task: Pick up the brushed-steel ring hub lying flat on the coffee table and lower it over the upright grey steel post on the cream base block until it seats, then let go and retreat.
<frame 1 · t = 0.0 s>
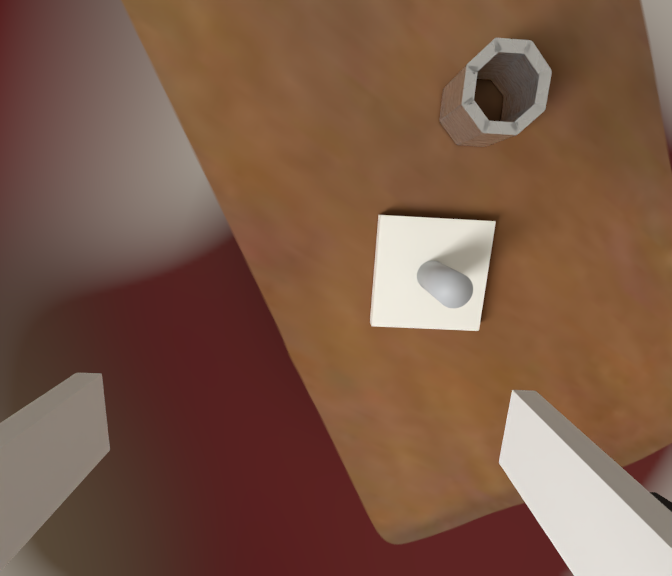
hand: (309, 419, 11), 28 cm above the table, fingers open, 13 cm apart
hub: (476, 107, 35), on the table
post: (427, 272, 39), on the table
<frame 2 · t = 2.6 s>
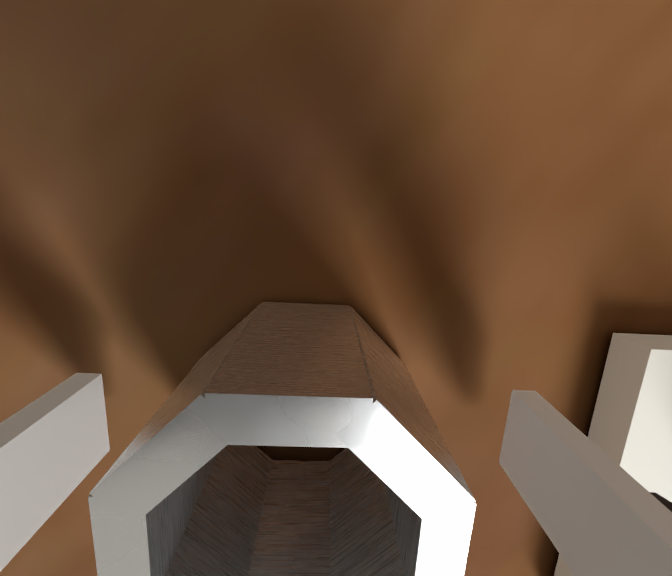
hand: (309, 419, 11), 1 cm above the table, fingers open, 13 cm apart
hub: (303, 398, 13), on the table
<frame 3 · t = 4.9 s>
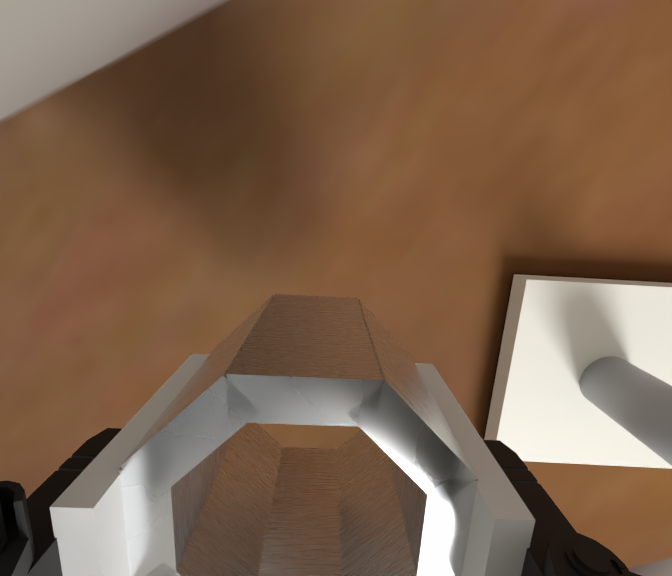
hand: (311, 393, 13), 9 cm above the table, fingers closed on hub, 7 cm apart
hub: (312, 388, 13), point 9 cm above the table, touching gripper
post: (589, 369, 23), on the table
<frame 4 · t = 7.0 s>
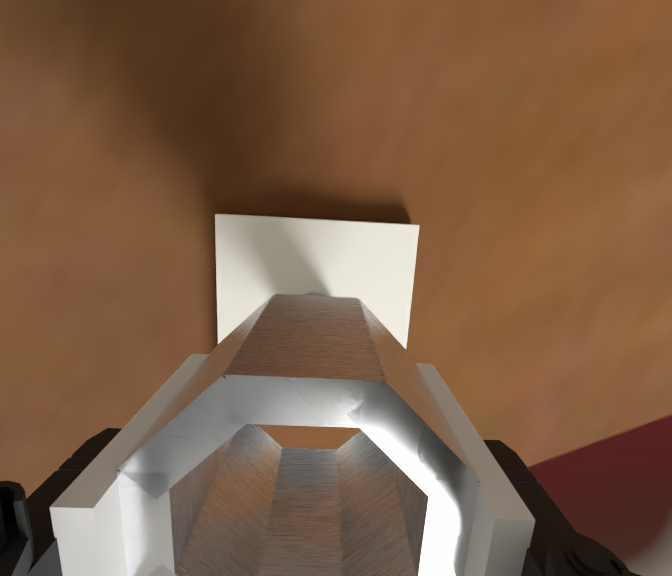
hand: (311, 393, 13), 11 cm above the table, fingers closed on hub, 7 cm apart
hub: (312, 388, 13), point 10 cm above the table, touching gripper
post: (314, 310, 23), on the table
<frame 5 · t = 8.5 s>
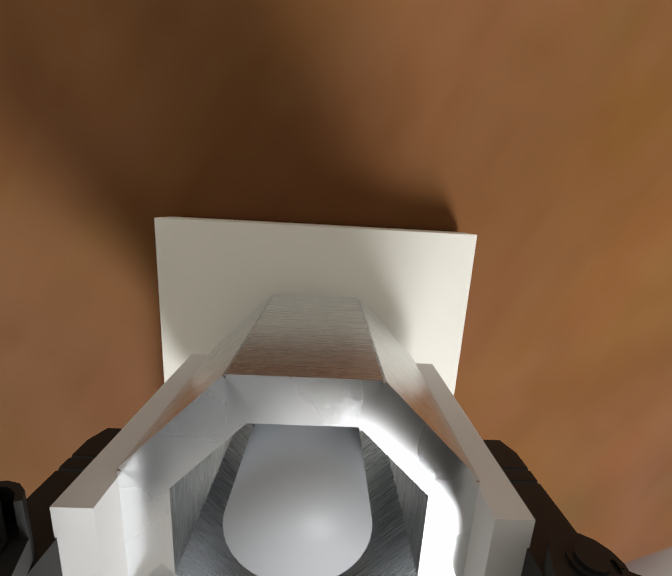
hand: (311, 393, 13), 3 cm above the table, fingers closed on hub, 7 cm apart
hub: (312, 388, 13), point 3 cm above the table, touching gripper
post: (313, 358, 16), on the table
when the fingers open (2 cm above the table, at t = 9.5 s): hub stays where it is, resting on post.
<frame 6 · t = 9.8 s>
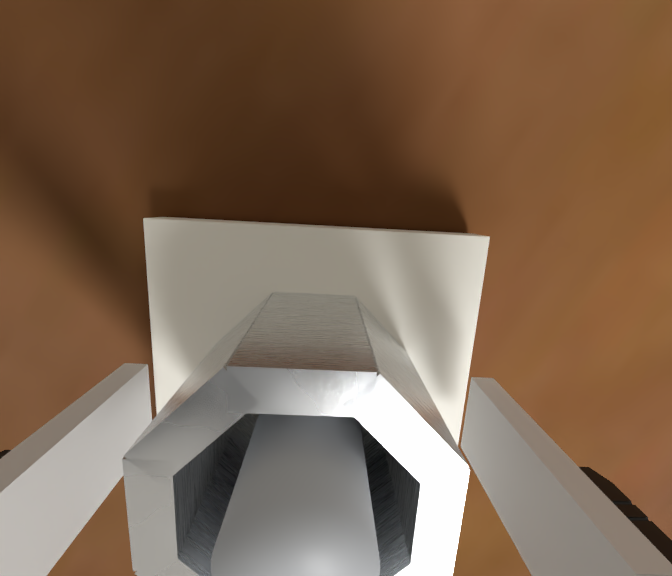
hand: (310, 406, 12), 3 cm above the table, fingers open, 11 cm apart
hub: (310, 384, 13), point 1 cm above the table, touching post
post: (314, 367, 15), on the table
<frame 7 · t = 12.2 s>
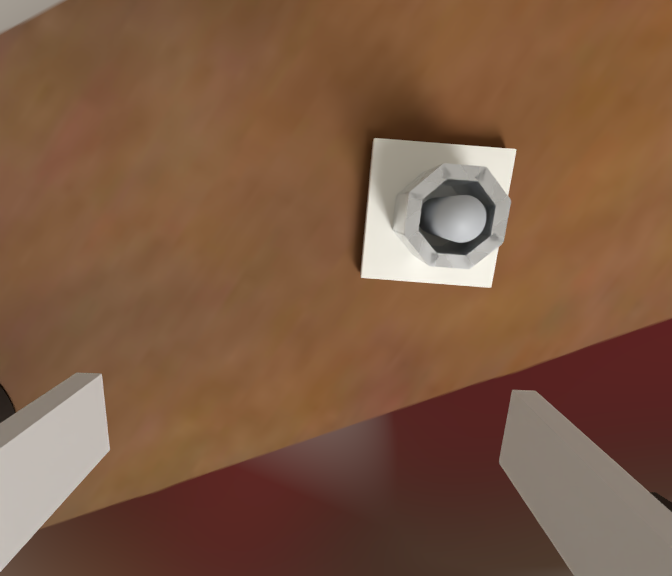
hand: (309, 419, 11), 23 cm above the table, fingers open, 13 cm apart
hub: (434, 215, 31), point 1 cm above the table, touching post
post: (431, 215, 32), on the table
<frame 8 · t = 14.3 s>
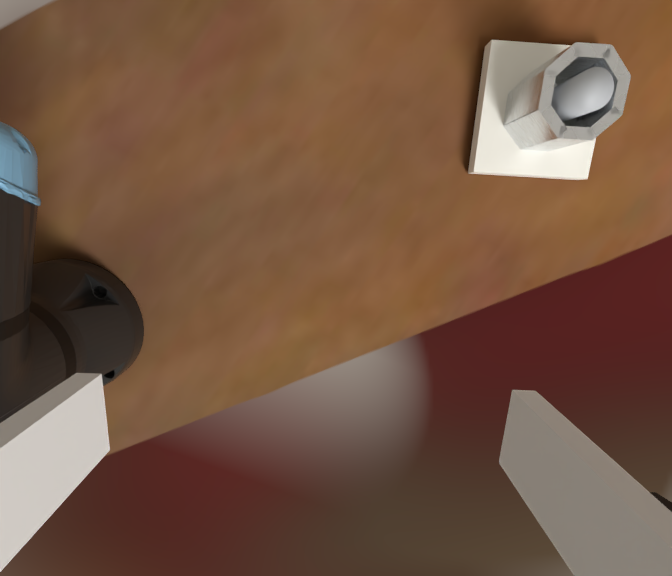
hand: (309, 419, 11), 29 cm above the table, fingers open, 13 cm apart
hub: (541, 111, 35), point 1 cm above the table, touching post
post: (533, 116, 36), on the table
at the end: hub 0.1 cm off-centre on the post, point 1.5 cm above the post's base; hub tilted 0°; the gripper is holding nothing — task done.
